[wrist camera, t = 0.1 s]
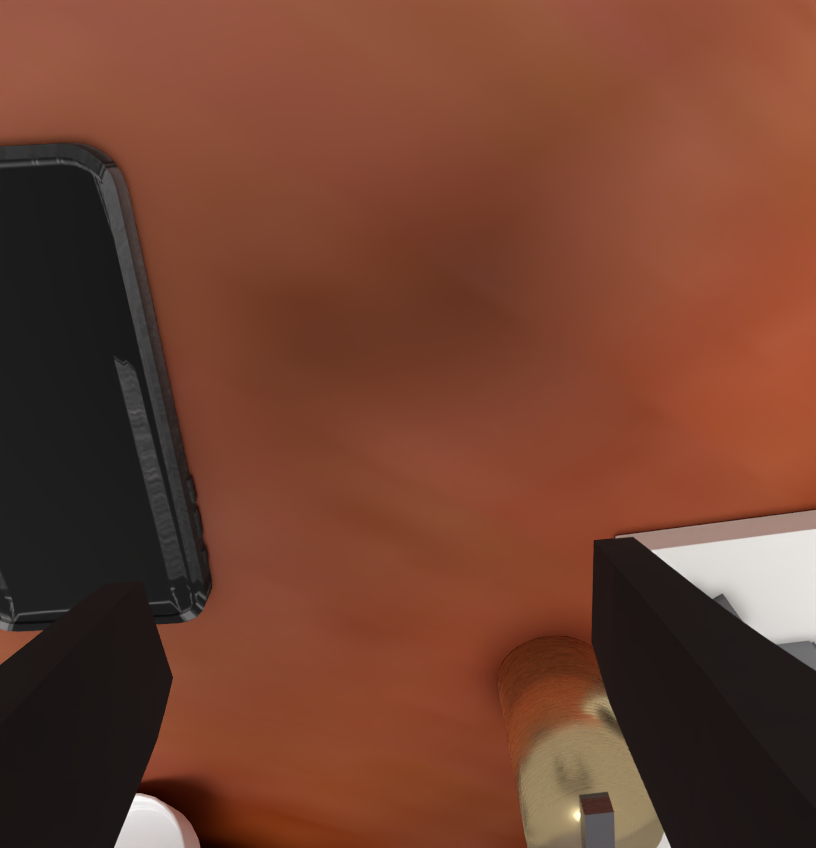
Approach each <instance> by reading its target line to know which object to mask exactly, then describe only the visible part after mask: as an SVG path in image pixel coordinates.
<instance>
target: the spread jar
mask: <svg viewBox="0 0 816 848" xmlns="http://www.w3.org/2000/svg"><path fill="white" fill-rule="evenodd" d="M114 848H200V844H199V840H198V837H197V835H196V833H195V831H194V829H193V827H192V825H191V823H190V822H189V821H188V820H187V819H186V817H185V816H184V815H183V814H182V813H181V812H179V811H177V810H176V809H174V808H173V807H171V806H169V805H168V804H166V803H164V802H162V801H161V800H159V799H157V798H156V797H153V796H150V795H146V794H142V793H136V795H135V797H134V800H133V802H132V805H131V807H130V810H129V812H128V815H127V817H126V820H125V822H124V824H123V827H122V829H121V832H120V834H119V837H118V839H117V842H116V844H115V847H114Z"/></svg>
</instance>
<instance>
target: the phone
mask: <svg viewBox="0 0 816 848" xmlns="http://www.w3.org/2000/svg"><path fill="white" fill-rule="evenodd" d="M195 503H196V496H195V491H194V487H193V482H192V478H190V476H189V472H188V467H187V462H186V458H185V453H184V448H183V444H182V439H181V434H180V430H179V425H178V420H177V416H176V411H175V406H174V402H173V397H172V392H171V388H170V383H169V378H168V374H167V369H166V364H165V360H164V355H163V350H162V346H161V341H160V336H159V332H158V327H157V322H156V318H155V313H154V308H153V304H152V299H151V294H150V290H149V285H148V280H147V276H146V271H145V266H144V262H143V257H142V252H141V248H140V243H139V238H138V234H137V229H136V224H135V220H134V215H133V210H132V206H131V201H130V196H129V192H128V187H127V185H126V182H125V179H124V177H123V174H122V172H121V171H120V170H119V168H118V167H117V165H116V164H115V163H114V161H113V160H112V159H110V158H109V157H108V156H107V155H106V154H104V153H103V152H102V151H100V150H98V149H96V148H94V147H91V146H89V145H87V144H78V143H55V144H37V145H20V146H2V147H0V629H3V630H6V631H17V632H20V631H39V630H45V629H46V628H47V627H49V626H50V625H51V624H52V623H54V622H55V621H56V620H57V619H59V618H60V617H61V616H62V615H64V614H65V613H66V612H67V611H69V610H70V609H71V608H73V607H74V606H75V605H76V604H78V603H79V602H80V601H82V600H83V599H84V598H86V597H87V596H88V595H90V594H91V593H92V592H94V591H95V590H97V589H98V588H100V587H101V586H103V585H104V584H112V583H123V582H134V581H142V583H143V586H144V589H145V592H146V595H147V599H148V602H149V605H150V608H151V611H152V614H153V617H154V620H155V623H156V624H171V623H181V622H187V621H189V620H191V619H193V618H195V617H197V616H198V615H199V614H200V613H201V612H202V611H203V609H204V606H205V604H206V601H207V599H208V596H209V594H210V591H211V589H212V579H211V574H210V570H209V565H208V558H207V553H206V548H205V546H204V542H203V537H202V534H203V532H202V527H201V522H200V518H199V513H198V509H196V504H195Z"/></svg>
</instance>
